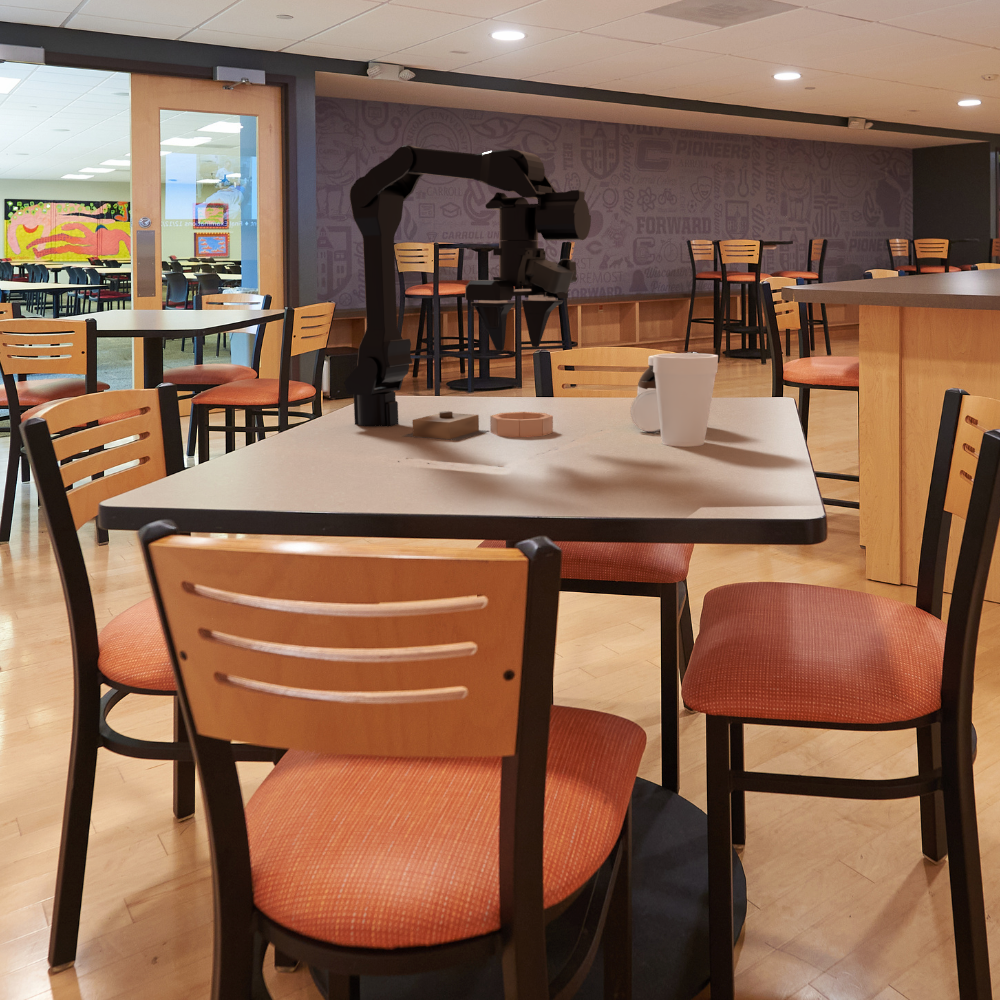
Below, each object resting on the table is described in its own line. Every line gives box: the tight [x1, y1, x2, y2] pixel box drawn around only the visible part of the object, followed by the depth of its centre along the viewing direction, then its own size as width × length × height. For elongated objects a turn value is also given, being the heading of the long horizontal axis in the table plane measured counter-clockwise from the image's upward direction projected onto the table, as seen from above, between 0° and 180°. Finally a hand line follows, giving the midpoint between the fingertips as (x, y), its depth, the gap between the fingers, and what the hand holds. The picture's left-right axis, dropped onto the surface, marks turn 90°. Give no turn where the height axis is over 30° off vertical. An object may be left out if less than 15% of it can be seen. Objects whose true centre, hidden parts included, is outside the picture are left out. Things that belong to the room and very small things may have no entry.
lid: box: [412, 410, 480, 440], centre depth 152 cm, size 6×9×3 cm
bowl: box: [489, 411, 554, 438], centre depth 153 cm, size 9×9×4 cm
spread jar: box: [629, 354, 661, 434], centre depth 160 cm, size 12×11×12 cm
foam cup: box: [652, 352, 719, 448], centre depth 146 cm, size 10×9×13 cm
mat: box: [402, 429, 490, 441], centre depth 152 cm, size 10×10×1 cm
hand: (518, 348), depth 148 cm, fingers open, 9 cm apart
